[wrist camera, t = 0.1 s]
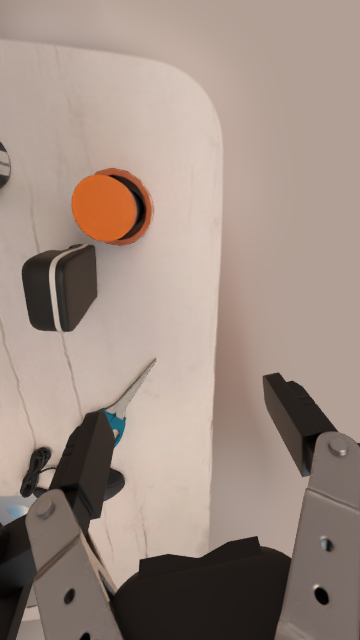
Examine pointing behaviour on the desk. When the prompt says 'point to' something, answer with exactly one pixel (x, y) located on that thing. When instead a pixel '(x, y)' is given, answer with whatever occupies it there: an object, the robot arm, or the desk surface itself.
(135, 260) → the desk surface
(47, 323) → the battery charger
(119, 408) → the scissors
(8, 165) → the pill bottle
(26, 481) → the computer mouse
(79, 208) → the cylinder
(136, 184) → the pen cup
